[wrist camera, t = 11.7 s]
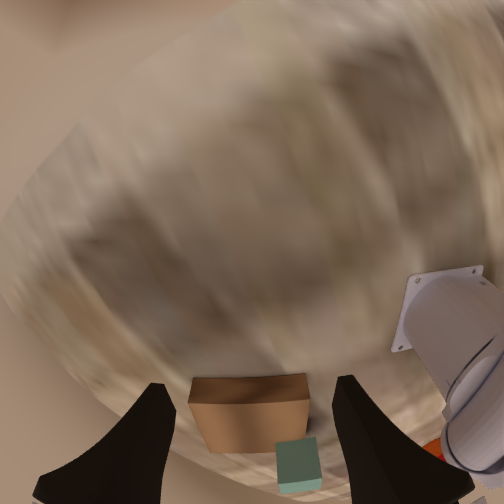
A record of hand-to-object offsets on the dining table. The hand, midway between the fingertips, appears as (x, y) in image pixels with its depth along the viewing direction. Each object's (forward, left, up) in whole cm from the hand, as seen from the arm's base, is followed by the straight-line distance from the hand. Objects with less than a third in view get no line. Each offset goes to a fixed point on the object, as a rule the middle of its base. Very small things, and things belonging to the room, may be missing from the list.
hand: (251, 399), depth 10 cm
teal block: (-3, +18, -6) cm, 20 cm away
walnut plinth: (+1, +14, -9) cm, 17 cm away
